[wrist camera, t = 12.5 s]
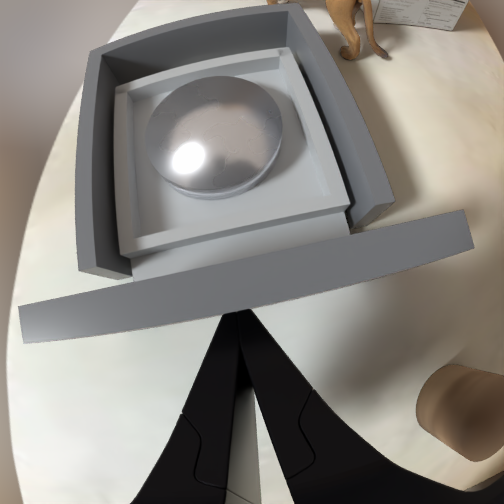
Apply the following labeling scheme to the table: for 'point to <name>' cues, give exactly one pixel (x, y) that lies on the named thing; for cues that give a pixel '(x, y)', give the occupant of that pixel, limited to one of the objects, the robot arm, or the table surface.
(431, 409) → the post
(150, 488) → the robot arm
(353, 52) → the lion figurine
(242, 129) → the disc
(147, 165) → the tray
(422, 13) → the light bulb box
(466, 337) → the table surface
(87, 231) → the dock
